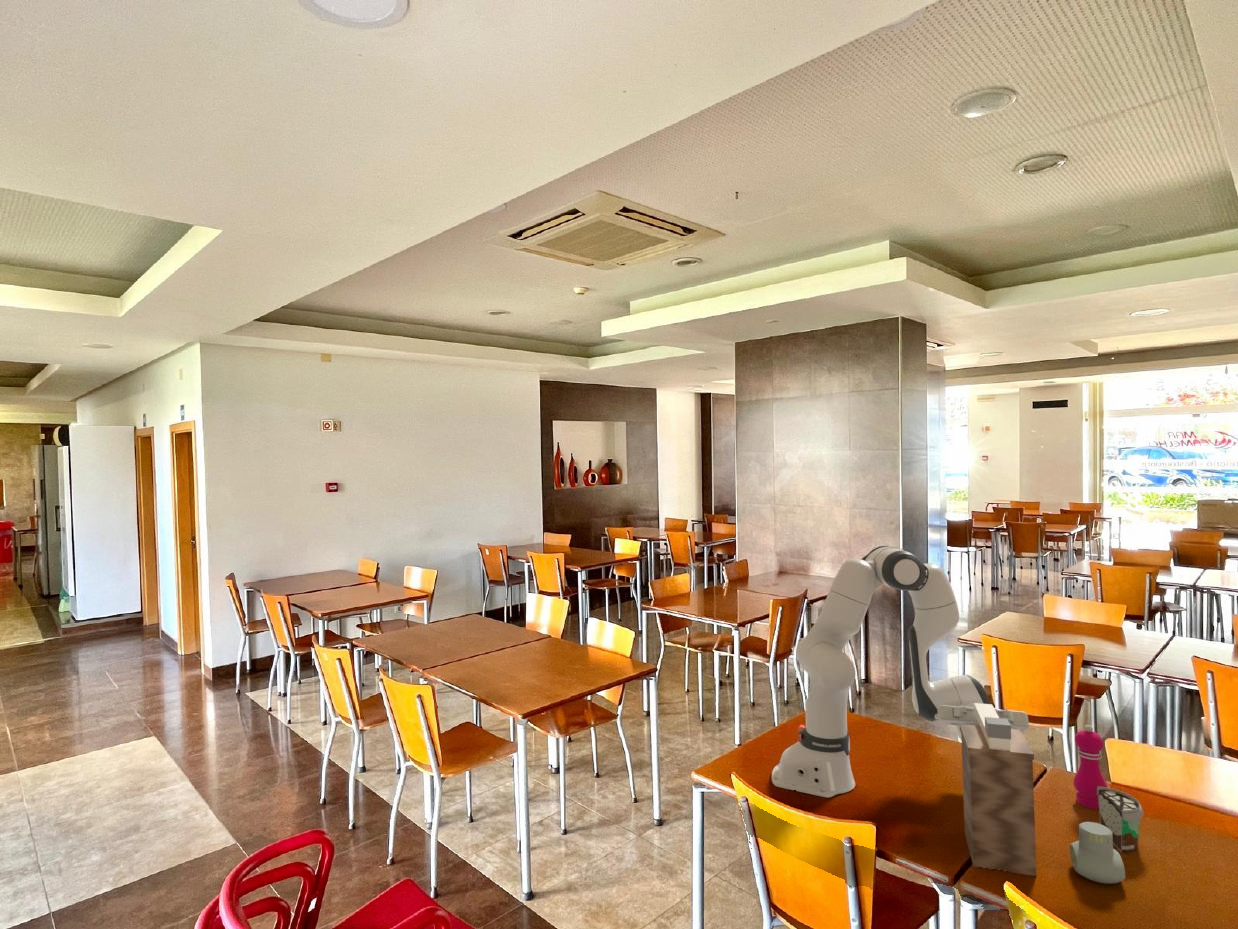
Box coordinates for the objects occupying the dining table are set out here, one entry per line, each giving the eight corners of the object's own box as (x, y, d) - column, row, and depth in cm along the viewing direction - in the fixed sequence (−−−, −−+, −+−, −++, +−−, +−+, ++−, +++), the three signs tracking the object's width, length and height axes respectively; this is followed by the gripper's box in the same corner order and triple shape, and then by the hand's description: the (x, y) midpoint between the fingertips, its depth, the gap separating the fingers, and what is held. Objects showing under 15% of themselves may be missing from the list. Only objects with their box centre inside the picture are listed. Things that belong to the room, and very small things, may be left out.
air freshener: (1068, 857, 151) (1066, 812, 151) (1113, 865, 148) (1111, 819, 148) (1080, 886, 141) (1078, 838, 141) (1128, 895, 138) (1126, 845, 138)
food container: (1156, 859, 149) (1155, 813, 149) (1125, 856, 151) (1123, 811, 151) (1126, 829, 161) (1125, 787, 161) (1097, 827, 163) (1096, 785, 163)
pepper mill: (1105, 799, 175) (1102, 722, 175) (1111, 813, 169) (1108, 732, 169) (1071, 794, 178) (1069, 718, 178) (1077, 807, 172) (1074, 728, 172)
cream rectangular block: (988, 748, 148) (987, 723, 148) (973, 713, 169) (972, 690, 169) (1011, 751, 146) (1010, 725, 146) (993, 714, 167) (992, 692, 167)
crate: (972, 866, 149) (967, 747, 149) (963, 833, 162) (959, 724, 162) (1038, 876, 145) (1034, 754, 145) (1023, 841, 158) (1019, 729, 158)
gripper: (933, 705, 182) (936, 694, 170) (1020, 713, 175) (1030, 701, 163) (935, 730, 179) (938, 721, 167) (1024, 739, 172) (1034, 729, 160)
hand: (985, 711), depth 165 cm, fingers open, 8 cm apart
